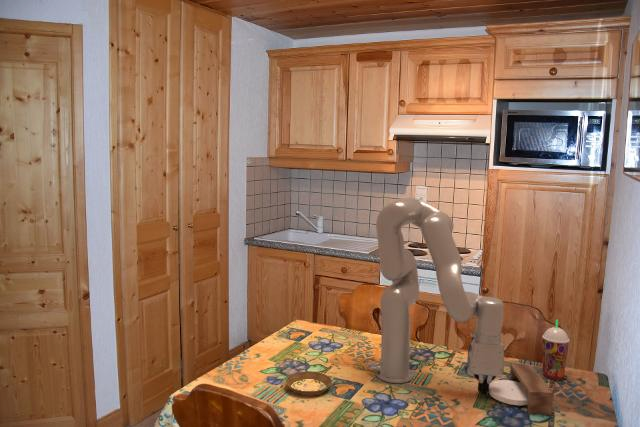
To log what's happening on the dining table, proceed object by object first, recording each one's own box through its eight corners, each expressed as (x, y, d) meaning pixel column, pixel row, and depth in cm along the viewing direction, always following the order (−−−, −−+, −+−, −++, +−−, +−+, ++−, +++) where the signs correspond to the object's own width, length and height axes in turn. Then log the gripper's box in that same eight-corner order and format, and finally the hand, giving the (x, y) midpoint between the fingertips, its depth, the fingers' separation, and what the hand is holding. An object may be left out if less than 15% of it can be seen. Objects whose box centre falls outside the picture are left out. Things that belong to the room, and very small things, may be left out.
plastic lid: (485, 385, 171) (486, 378, 171) (530, 389, 169) (531, 382, 169) (491, 405, 158) (491, 397, 158) (540, 410, 155) (540, 402, 155)
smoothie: (555, 383, 173) (559, 325, 171) (534, 374, 180) (538, 317, 178) (571, 379, 177) (576, 321, 174) (551, 369, 184) (554, 314, 182)
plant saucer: (309, 374, 178) (309, 367, 178) (341, 389, 168) (341, 381, 167) (276, 387, 168) (276, 380, 168) (307, 404, 157) (307, 396, 157)
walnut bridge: (528, 413, 153) (530, 391, 152) (509, 383, 173) (510, 363, 172) (551, 414, 153) (553, 392, 152) (529, 384, 172) (530, 364, 172)
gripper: (465, 340, 158) (460, 397, 161) (516, 343, 157) (510, 401, 160) (461, 331, 166) (456, 386, 168) (509, 334, 165) (504, 389, 167)
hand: (482, 393), depth 164 cm, fingers closed
